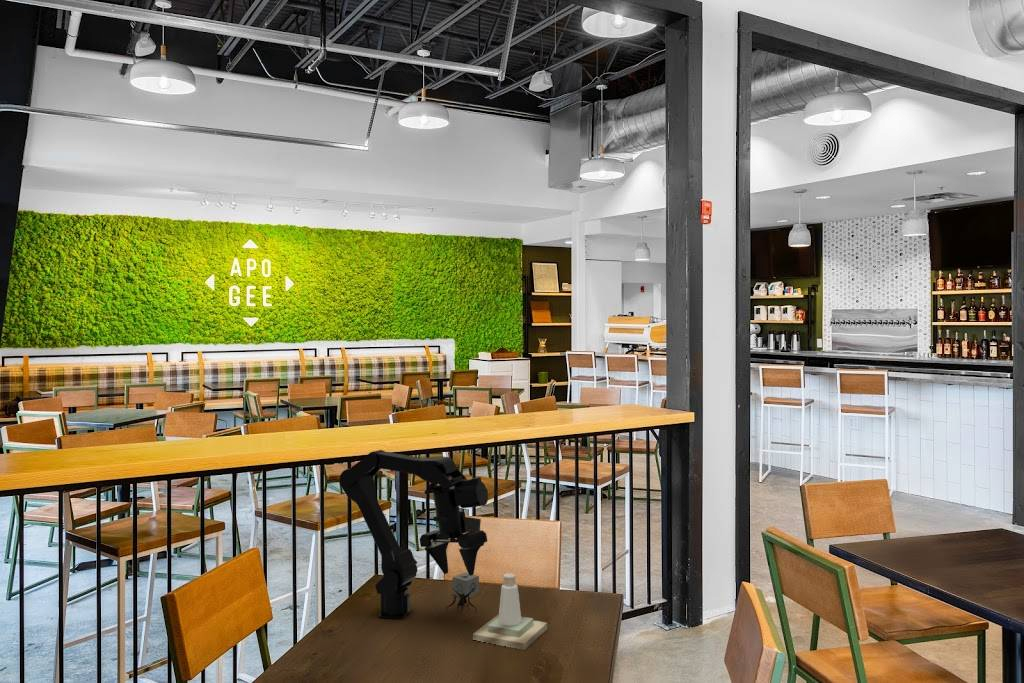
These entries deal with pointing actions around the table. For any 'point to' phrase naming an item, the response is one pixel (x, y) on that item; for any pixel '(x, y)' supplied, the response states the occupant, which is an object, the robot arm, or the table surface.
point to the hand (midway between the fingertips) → (458, 574)
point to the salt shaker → (509, 602)
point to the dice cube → (466, 584)
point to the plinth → (509, 639)
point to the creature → (462, 600)
